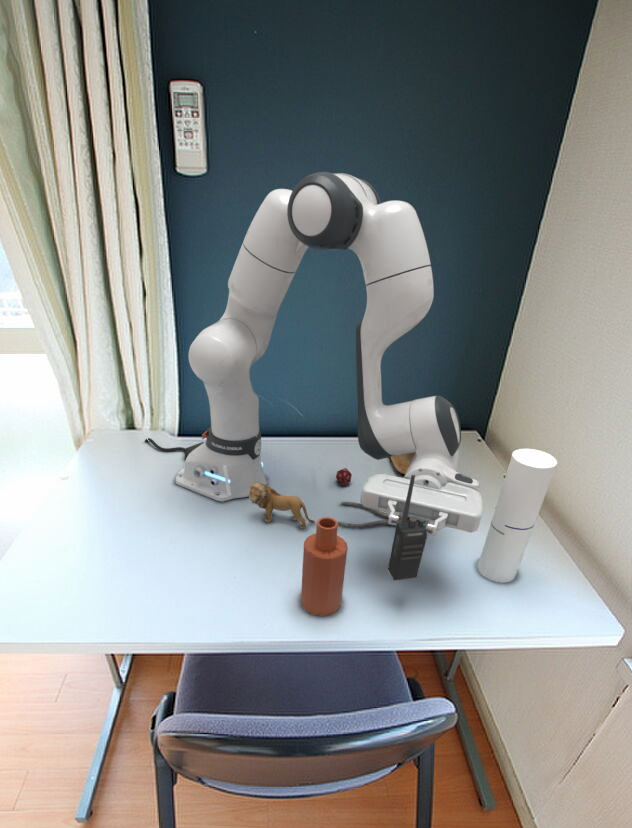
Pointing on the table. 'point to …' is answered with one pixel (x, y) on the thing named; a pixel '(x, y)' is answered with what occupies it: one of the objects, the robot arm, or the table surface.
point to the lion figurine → (277, 502)
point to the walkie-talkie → (407, 544)
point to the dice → (343, 476)
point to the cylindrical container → (516, 513)
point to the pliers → (370, 522)
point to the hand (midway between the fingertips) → (411, 526)
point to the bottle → (323, 569)
